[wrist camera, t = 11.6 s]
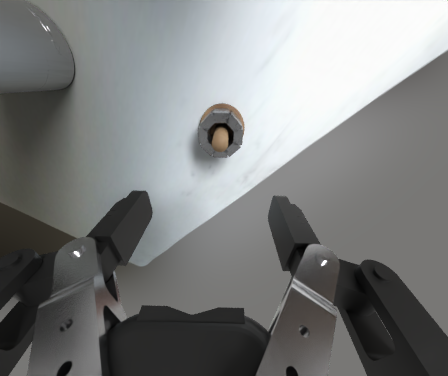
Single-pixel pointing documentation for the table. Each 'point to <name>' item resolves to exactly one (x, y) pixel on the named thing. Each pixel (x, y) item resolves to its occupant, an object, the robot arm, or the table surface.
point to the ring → (220, 117)
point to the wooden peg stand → (221, 128)
